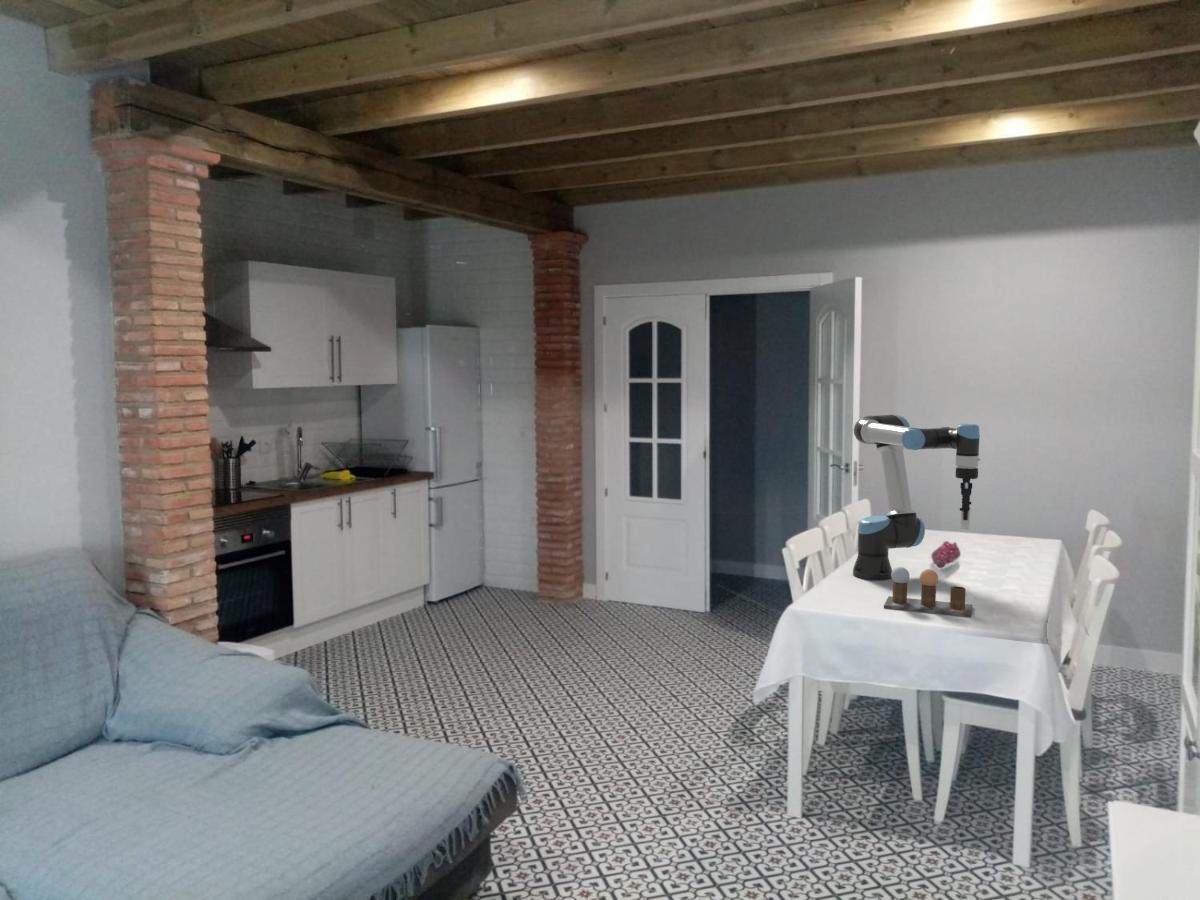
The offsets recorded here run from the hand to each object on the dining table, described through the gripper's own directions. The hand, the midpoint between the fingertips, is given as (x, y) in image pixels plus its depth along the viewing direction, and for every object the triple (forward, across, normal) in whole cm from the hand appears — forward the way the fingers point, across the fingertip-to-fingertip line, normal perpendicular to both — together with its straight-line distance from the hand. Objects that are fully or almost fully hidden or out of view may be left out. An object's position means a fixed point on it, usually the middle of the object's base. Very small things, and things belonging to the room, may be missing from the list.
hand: (965, 525), depth 331 cm
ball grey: (+18, -20, +21) cm, 34 cm away
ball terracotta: (+18, -21, +11) cm, 30 cm away
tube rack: (+26, -21, +11) cm, 35 cm away
